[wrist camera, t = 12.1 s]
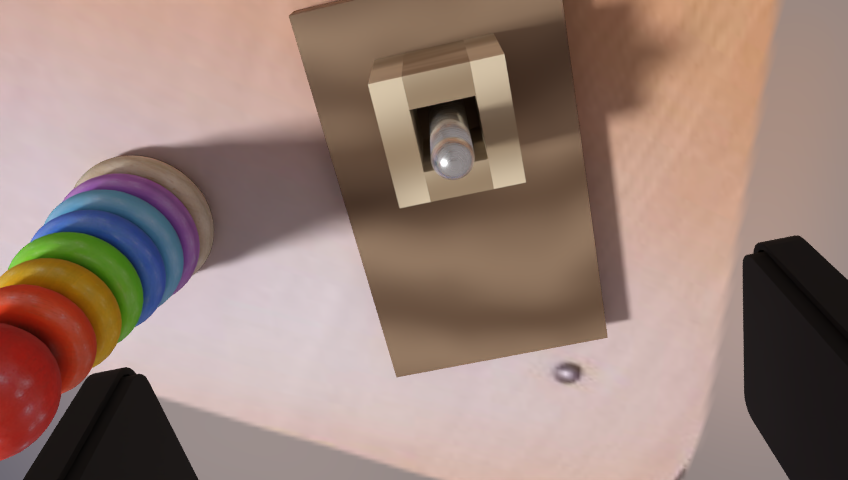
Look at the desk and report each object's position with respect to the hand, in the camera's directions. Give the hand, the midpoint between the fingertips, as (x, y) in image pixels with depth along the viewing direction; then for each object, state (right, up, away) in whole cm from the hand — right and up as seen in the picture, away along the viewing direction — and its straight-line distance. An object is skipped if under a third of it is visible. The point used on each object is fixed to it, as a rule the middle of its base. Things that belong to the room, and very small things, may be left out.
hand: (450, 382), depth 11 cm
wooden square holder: (+1, +9, +25) cm, 27 cm away
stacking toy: (-16, +4, +30) cm, 34 cm away
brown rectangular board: (+2, +5, +29) cm, 29 cm away
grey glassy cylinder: (+1, +9, +25) cm, 27 cm away
